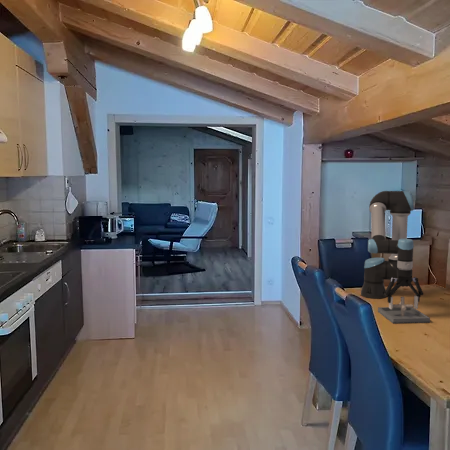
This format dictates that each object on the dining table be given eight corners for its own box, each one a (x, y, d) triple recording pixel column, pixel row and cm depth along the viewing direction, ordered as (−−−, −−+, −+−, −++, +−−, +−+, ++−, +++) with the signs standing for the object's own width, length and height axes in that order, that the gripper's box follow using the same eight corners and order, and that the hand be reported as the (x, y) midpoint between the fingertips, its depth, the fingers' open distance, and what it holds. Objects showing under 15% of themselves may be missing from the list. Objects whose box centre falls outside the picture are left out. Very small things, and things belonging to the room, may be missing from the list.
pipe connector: (414, 318, 237) (414, 299, 236) (394, 318, 239) (394, 299, 238) (411, 312, 247) (410, 294, 246) (391, 312, 249) (391, 294, 248)
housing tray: (377, 311, 253) (377, 307, 252) (411, 311, 254) (411, 306, 253) (393, 323, 233) (393, 318, 232) (429, 322, 234) (430, 317, 234)
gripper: (384, 270, 236) (382, 311, 238) (431, 269, 237) (429, 309, 240) (378, 267, 243) (377, 306, 246) (424, 266, 245) (422, 305, 247)
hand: (403, 308), depth 243 cm, fingers open, 13 cm apart
